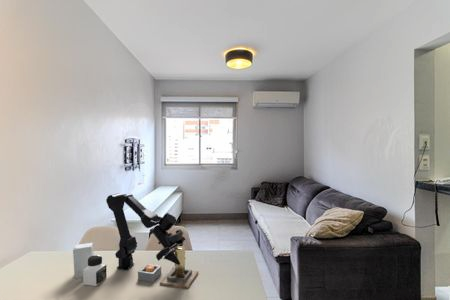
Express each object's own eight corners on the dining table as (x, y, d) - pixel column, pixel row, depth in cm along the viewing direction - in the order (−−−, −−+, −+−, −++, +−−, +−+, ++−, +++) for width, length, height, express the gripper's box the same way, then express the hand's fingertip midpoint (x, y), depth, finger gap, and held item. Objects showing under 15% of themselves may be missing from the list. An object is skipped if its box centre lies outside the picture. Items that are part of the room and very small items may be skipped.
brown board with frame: (159, 284, 115) (159, 279, 115) (172, 269, 129) (172, 265, 129) (187, 288, 112) (187, 283, 112) (198, 273, 126) (198, 268, 126)
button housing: (138, 280, 119) (137, 271, 119) (147, 271, 127) (146, 264, 127) (153, 282, 117) (153, 273, 117) (161, 273, 125) (161, 265, 125)
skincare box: (94, 270, 128) (94, 241, 128) (92, 276, 123) (92, 246, 122) (75, 273, 126) (75, 243, 125) (73, 279, 120) (72, 248, 120)
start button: (144, 275, 121) (144, 268, 121) (148, 270, 125) (148, 265, 125) (151, 276, 120) (151, 269, 120) (155, 271, 124) (155, 266, 124)
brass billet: (172, 275, 120) (172, 248, 120) (180, 271, 124) (180, 245, 124) (179, 278, 117) (179, 251, 117) (187, 274, 121) (187, 248, 121)
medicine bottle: (96, 286, 114) (96, 260, 113) (83, 284, 115) (82, 259, 115) (106, 278, 121) (106, 253, 120) (94, 276, 122) (93, 252, 122)
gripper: (161, 232, 113) (182, 260, 109) (182, 220, 130) (201, 244, 127) (147, 246, 116) (167, 274, 112) (169, 233, 133) (187, 257, 130)
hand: (182, 261), depth 120 cm, fingers closed on brass billet, 5 cm apart
